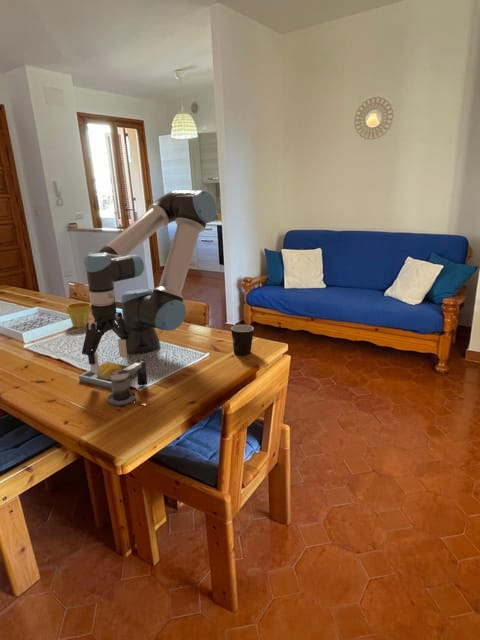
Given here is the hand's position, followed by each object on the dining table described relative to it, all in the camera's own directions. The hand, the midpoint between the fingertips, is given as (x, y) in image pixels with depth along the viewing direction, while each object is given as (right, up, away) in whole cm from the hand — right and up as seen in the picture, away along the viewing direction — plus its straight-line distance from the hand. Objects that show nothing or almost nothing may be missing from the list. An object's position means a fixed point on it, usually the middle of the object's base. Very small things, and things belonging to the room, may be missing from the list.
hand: (110, 364), depth 137 cm
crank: (+10, -7, -11) cm, 16 cm away
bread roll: (0, -4, +1) cm, 4 cm away
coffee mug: (+44, +2, +24) cm, 50 cm away
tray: (0, -4, +1) cm, 4 cm away
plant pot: (-30, +12, +54) cm, 63 cm away
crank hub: (+10, -9, -15) cm, 20 cm away
